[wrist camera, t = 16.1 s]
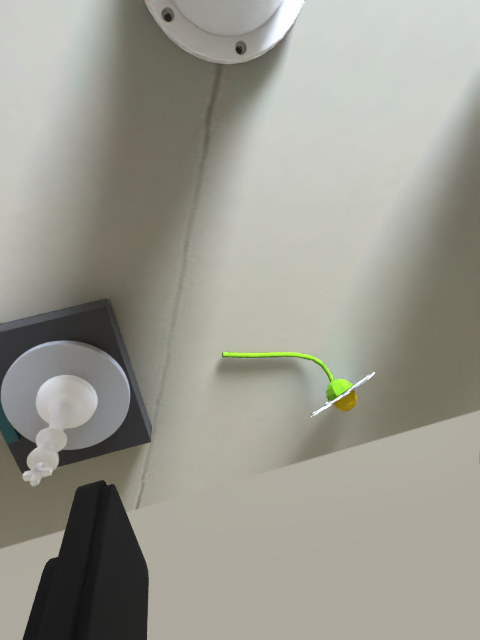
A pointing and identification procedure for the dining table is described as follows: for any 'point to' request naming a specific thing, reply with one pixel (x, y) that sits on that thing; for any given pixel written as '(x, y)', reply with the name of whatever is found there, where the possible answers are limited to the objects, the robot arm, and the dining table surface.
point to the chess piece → (58, 421)
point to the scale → (78, 360)
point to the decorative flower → (337, 389)
